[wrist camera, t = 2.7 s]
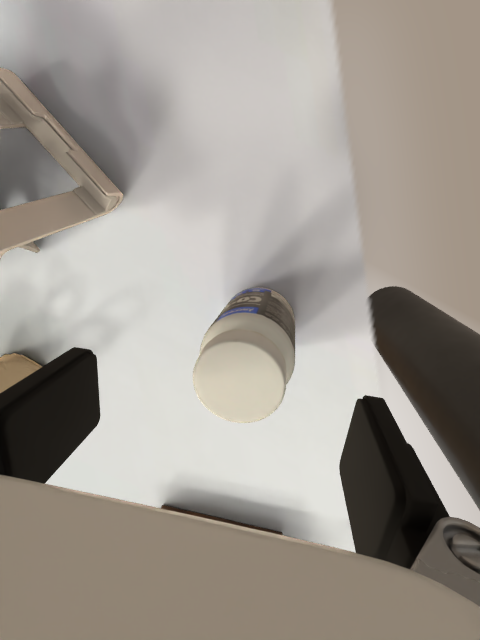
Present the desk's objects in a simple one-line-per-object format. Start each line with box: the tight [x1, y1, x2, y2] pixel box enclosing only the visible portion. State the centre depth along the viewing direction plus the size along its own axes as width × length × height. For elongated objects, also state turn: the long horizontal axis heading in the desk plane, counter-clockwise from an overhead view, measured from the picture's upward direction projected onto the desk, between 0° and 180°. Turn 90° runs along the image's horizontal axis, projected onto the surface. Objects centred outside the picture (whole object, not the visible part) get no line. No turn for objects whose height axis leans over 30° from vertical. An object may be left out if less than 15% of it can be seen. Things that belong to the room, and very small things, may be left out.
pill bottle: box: [193, 287, 295, 423], centre depth 17 cm, size 5×5×8 cm
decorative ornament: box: [0, 353, 42, 393], centre depth 23 cm, size 4×8×5 cm, turn 131°
